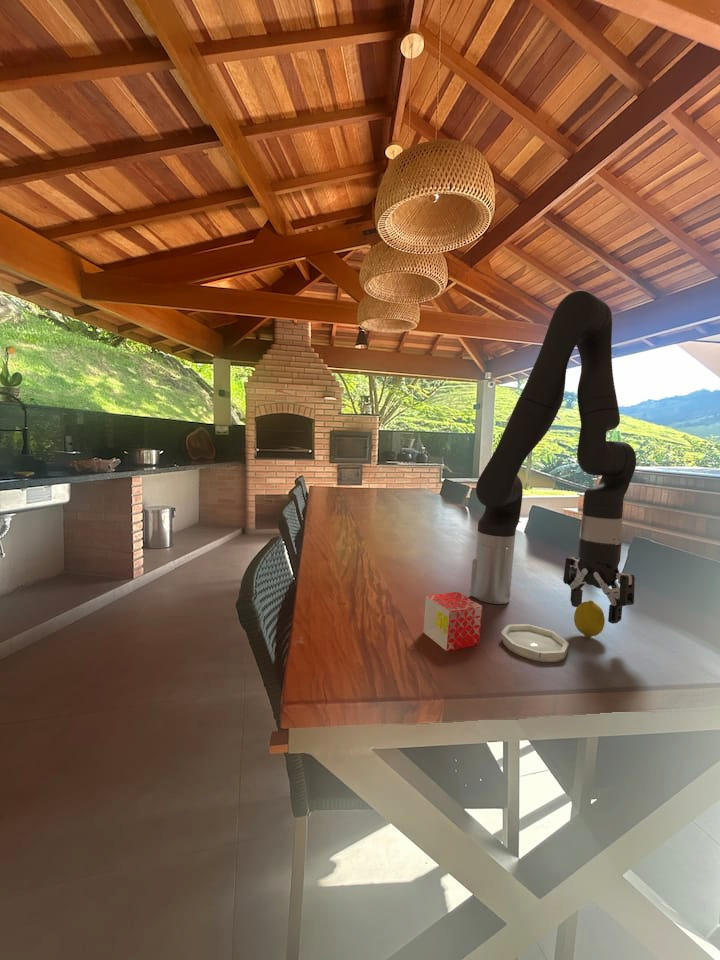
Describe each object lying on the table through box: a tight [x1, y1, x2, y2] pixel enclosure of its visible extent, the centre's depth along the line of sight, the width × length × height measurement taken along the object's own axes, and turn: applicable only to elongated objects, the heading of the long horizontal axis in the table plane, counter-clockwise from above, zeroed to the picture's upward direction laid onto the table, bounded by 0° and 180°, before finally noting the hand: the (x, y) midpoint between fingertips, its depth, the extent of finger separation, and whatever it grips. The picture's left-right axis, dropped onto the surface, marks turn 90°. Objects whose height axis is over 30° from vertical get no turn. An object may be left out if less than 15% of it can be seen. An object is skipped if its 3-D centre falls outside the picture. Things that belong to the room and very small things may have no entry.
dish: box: [500, 623, 570, 663], centre depth 79 cm, size 12×12×2 cm
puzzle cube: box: [423, 591, 483, 652], centre depth 81 cm, size 8×8×8 cm
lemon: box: [573, 600, 606, 639], centre depth 84 cm, size 6×6×8 cm
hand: (594, 614), depth 84 cm, fingers open, 8 cm apart
